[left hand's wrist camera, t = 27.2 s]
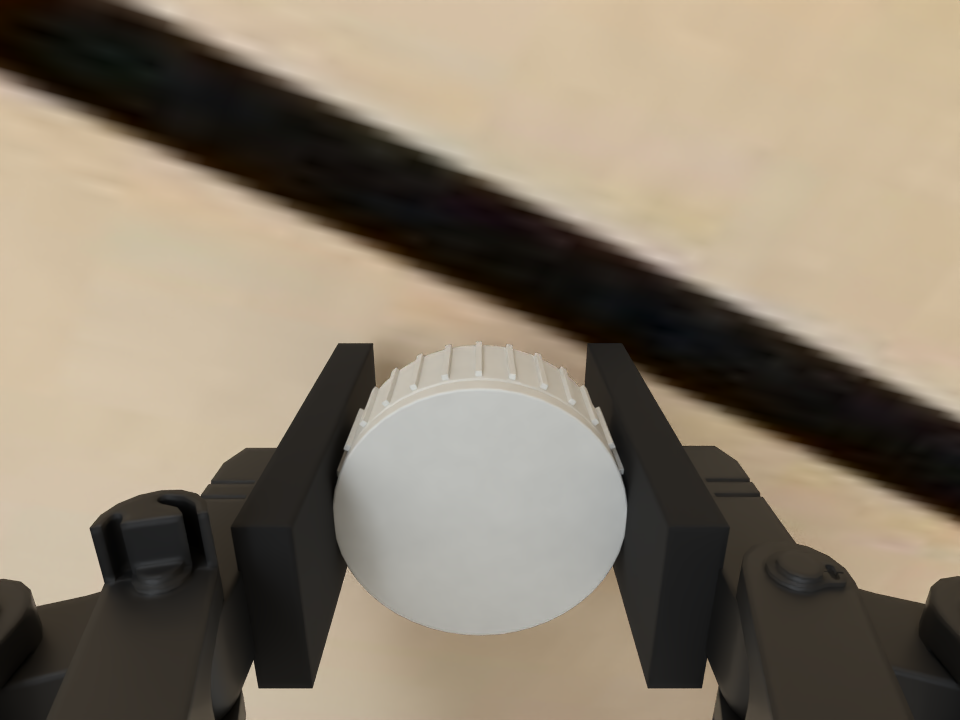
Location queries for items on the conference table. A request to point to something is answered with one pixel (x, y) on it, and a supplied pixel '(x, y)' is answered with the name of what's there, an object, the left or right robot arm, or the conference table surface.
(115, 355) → the conference table surface
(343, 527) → the lid
